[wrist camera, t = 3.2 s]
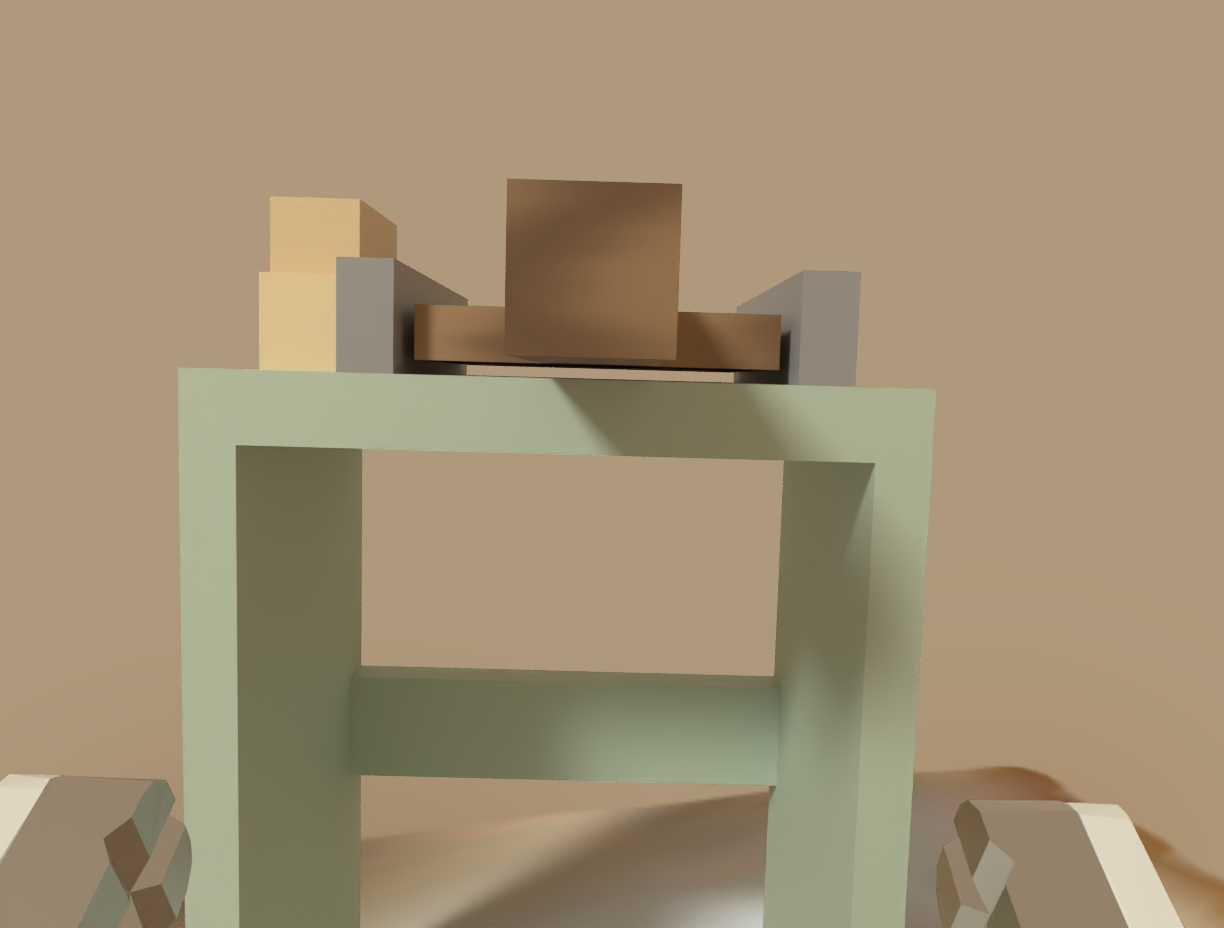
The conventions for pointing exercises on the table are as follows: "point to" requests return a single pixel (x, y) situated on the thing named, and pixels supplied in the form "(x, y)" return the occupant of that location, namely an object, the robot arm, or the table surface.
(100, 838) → the robot arm
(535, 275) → the board with handle
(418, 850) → the table surface
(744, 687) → the stand
